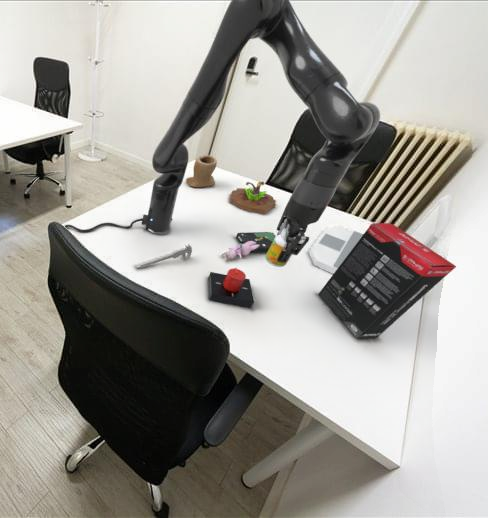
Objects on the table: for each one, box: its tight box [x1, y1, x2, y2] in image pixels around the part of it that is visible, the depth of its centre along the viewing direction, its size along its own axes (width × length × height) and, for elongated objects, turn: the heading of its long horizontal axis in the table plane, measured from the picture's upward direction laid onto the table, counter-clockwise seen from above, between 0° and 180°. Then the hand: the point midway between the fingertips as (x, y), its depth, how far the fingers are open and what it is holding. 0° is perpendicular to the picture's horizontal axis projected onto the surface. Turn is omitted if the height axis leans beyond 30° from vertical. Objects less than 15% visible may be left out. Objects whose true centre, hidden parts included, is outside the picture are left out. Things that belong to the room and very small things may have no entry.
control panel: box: [207, 271, 255, 309], centre depth 89 cm, size 12×10×3 cm
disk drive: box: [235, 231, 277, 254], centre depth 110 cm, size 10×3×15 cm
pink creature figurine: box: [220, 241, 260, 262], centre depth 104 cm, size 6×6×15 cm
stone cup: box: [185, 154, 218, 188], centre depth 145 cm, size 15×12×15 cm
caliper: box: [135, 243, 193, 269], centre depth 98 cm, size 20×1×6 cm, turn 108°
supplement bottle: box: [264, 228, 294, 268], centre depth 77 cm, size 5×5×10 cm
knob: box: [223, 267, 247, 292], centre depth 87 cm, size 5×5×5 cm
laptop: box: [308, 193, 453, 275], centre depth 99 cm, size 33×24×26 cm
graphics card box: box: [318, 222, 457, 340], centre depth 76 cm, size 17×7×27 cm, turn 5°
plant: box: [229, 181, 277, 215], centre depth 134 cm, size 20×20×11 cm
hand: (278, 254), depth 78 cm, fingers closed on supplement bottle, 5 cm apart
